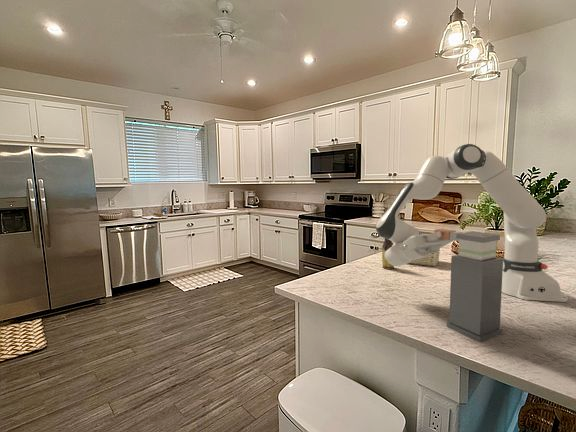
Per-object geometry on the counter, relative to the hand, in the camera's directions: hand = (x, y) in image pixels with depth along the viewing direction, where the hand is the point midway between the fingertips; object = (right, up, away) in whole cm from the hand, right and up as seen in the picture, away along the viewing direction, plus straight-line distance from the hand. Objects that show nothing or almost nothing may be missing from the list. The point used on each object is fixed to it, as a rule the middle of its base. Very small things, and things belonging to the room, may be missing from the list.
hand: (446, 232), depth 104 cm
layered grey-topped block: (+3, -23, -3) cm, 23 cm away
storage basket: (+23, -22, +77) cm, 83 cm away
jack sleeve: (+5, -31, -6) cm, 32 cm away
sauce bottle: (+2, -24, +65) cm, 69 cm away
